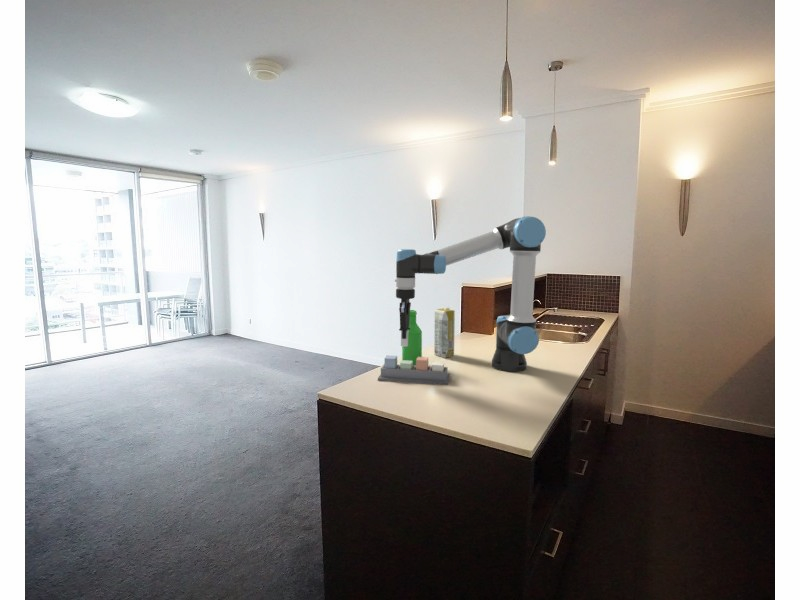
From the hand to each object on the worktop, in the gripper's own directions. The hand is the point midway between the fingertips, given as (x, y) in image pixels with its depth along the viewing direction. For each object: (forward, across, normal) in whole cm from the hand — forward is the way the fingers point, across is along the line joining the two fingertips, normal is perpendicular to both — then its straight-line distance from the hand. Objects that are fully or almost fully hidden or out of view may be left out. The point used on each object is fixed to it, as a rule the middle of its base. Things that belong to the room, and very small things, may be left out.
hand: (404, 345), depth 164 cm
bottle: (+14, -18, 0) cm, 23 cm away
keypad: (+13, 0, +4) cm, 14 cm away
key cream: (+12, 0, +14) cm, 18 cm away
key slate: (+10, 0, -5) cm, 12 cm away
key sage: (+12, 0, +1) cm, 12 cm away
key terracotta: (+10, 0, +8) cm, 12 cm away
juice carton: (+13, -36, +14) cm, 41 cm away
